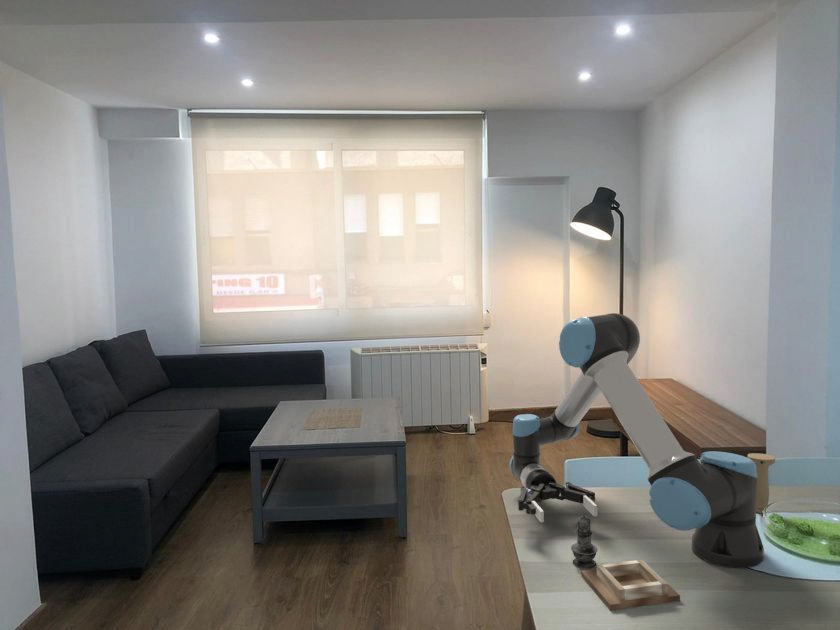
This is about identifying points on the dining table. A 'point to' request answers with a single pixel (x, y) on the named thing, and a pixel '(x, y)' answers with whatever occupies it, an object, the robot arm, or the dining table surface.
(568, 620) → the dining table surface
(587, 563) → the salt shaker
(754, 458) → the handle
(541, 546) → the dining table surface
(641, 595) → the caddy
